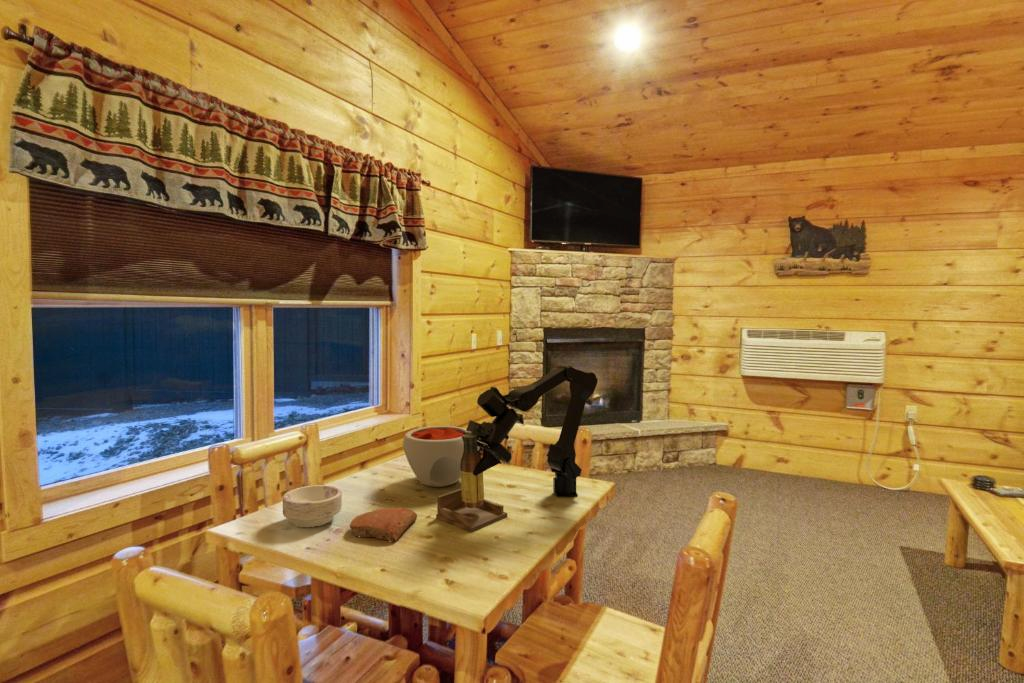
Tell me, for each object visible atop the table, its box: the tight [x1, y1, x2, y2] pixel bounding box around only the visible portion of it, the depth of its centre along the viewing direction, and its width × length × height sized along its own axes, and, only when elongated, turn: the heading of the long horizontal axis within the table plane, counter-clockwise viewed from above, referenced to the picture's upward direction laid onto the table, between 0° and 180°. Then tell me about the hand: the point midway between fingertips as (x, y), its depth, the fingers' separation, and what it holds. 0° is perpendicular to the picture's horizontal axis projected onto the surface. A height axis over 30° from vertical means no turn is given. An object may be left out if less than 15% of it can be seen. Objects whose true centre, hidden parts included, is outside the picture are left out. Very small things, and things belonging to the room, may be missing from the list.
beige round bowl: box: [282, 484, 343, 528], centre depth 147 cm, size 15×15×8 cm
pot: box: [402, 425, 468, 488], centre depth 179 cm, size 24×24×18 cm
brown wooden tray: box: [435, 487, 508, 533], centre depth 150 cm, size 14×14×6 cm
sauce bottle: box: [460, 433, 485, 508], centre depth 149 cm, size 7×6×20 cm
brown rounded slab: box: [349, 507, 418, 543], centre depth 142 cm, size 15×6×15 cm
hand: (467, 471), depth 148 cm, fingers closed on sauce bottle, 6 cm apart
